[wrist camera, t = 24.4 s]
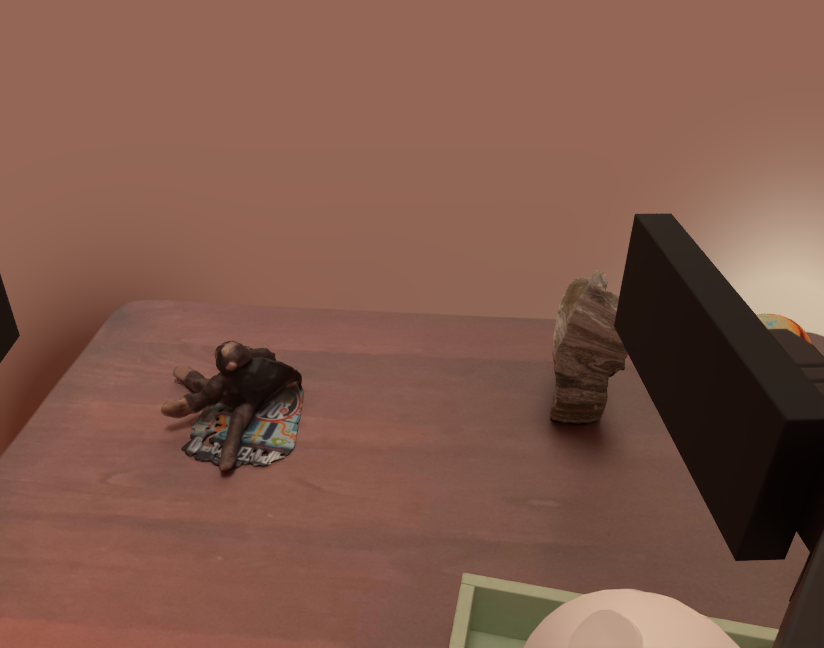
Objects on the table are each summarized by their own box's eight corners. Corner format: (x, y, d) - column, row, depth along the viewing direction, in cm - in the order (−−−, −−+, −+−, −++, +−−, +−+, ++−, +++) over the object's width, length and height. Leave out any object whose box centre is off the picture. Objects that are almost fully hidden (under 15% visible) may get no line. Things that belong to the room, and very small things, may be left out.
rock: (562, 363, 68) (584, 211, 60) (627, 378, 67) (659, 224, 59) (528, 451, 58) (549, 283, 50) (603, 471, 57) (639, 301, 49)
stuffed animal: (260, 331, 70) (307, 315, 59) (293, 431, 70) (345, 433, 60) (133, 370, 64) (160, 361, 54) (169, 479, 64) (203, 491, 54)
